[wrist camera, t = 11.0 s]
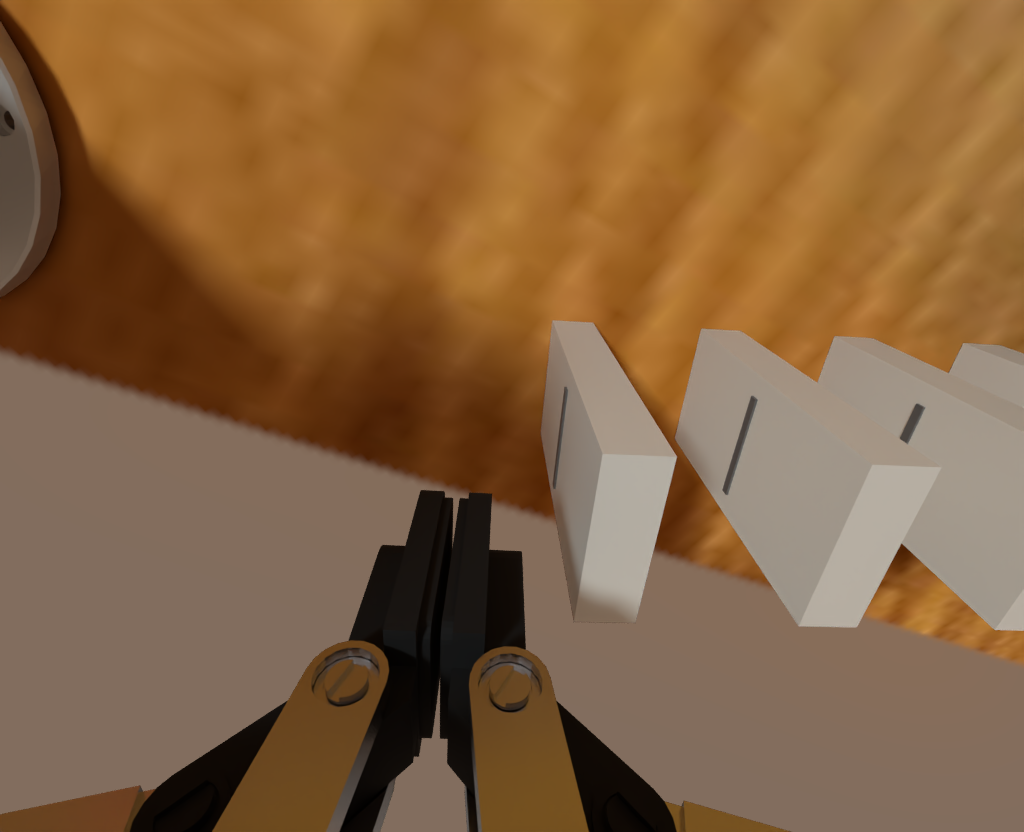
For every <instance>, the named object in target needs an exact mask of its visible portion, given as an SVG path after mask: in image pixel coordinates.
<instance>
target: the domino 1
mask: <svg viewBox="0 0 1024 832" xmlns="http://www.w3.org/2000/svg"><path fill="white" fill-rule="evenodd" d="M541 438H542V444H543V450H544V455H545V461H546V467H547V472H548V478H549V484H550V489H551V495H552V501H553V506H554V512H555V518H556V524H557V529H558V535H559V541H560V546H561V551H562V558H563V563H564V569H565V574H566V580H567V586H568V592H569V597H570V603H571V609H572V614H573V620H574V622H599V623H636V619H637V615H638V611H639V607H640V603H641V599H642V595H643V591H644V587H645V583H646V578H647V575H648V571H649V566H650V563H651V559H652V555H653V551H654V547H655V543H656V539H657V535H658V531H659V527H660V523H661V519H662V515H663V511H664V507H665V503H666V499H667V495H668V491H669V487H670V483H671V479H672V475H673V471H674V467H675V463H676V459H677V456H676V454H675V453H674V451H673V450H672V448H671V446H670V445H669V443H668V442H667V440H666V438H665V437H664V435H663V434H662V432H661V430H660V429H659V427H658V426H657V424H656V422H655V421H654V419H653V418H652V416H651V414H650V413H649V411H648V410H647V408H646V407H645V405H644V403H643V402H642V400H641V399H640V397H639V395H638V394H637V392H636V391H635V389H634V387H633V386H632V384H631V383H630V381H629V379H628V378H627V376H626V375H625V373H624V371H623V370H622V368H621V367H620V365H619V363H618V362H617V360H616V359H615V357H614V355H613V354H612V352H611V351H610V349H609V347H608V346H607V344H606V343H605V341H604V339H603V338H602V336H601V335H600V333H599V331H598V330H597V328H596V327H595V325H594V323H589V322H571V321H553V320H552V329H551V339H550V348H549V358H548V368H547V377H546V387H545V396H544V406H543V415H542V425H541Z"/></svg>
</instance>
